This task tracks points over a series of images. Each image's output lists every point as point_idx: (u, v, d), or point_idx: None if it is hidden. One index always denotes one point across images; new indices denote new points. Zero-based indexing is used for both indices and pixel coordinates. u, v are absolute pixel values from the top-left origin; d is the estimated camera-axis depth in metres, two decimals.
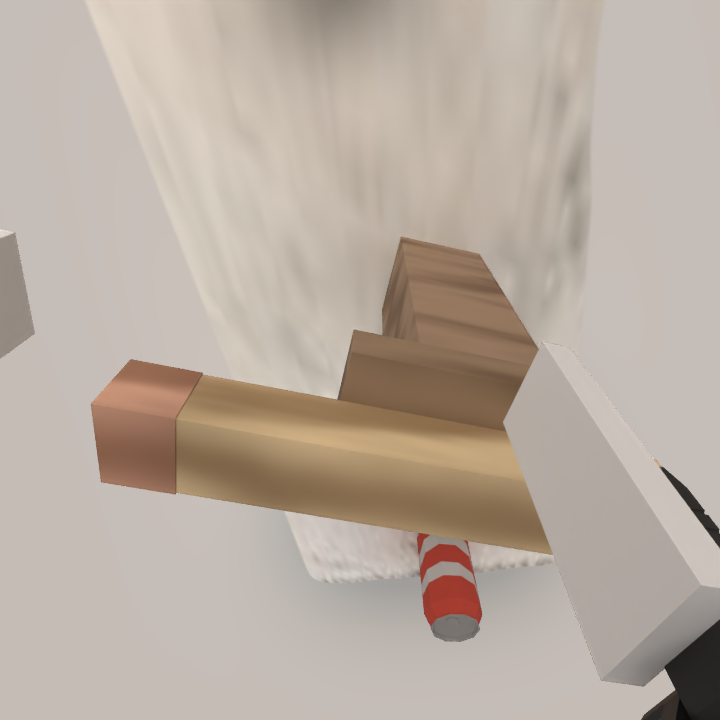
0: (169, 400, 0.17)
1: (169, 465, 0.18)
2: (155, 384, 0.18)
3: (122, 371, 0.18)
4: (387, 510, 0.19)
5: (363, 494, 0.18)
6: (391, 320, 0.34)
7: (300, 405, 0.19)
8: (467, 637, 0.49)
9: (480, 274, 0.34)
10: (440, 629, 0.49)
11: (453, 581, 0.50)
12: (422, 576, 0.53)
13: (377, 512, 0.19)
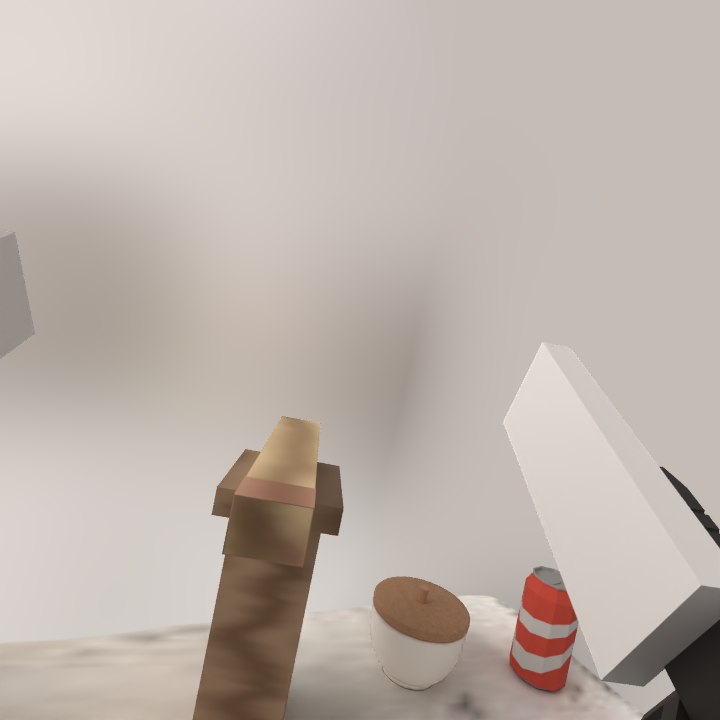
0: None
1: (287, 485, 0.25)
2: None
3: (227, 539, 0.22)
4: (304, 449, 0.34)
5: (293, 451, 0.33)
6: (259, 668, 0.36)
7: None
8: (559, 572, 0.55)
9: None
10: None
11: (528, 606, 0.52)
12: (561, 642, 0.50)
13: (307, 451, 0.34)
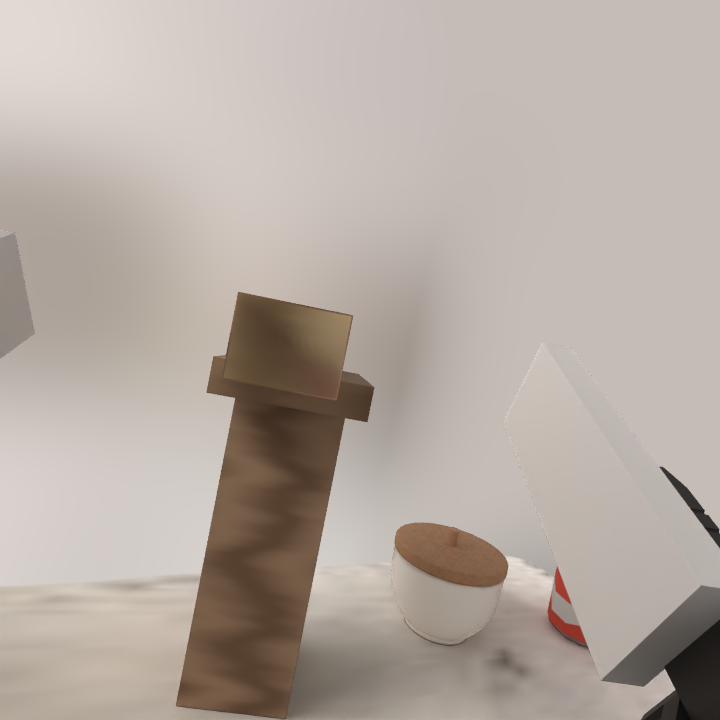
0: None
1: None
2: None
3: (228, 357, 0.16)
4: None
5: None
6: (266, 601, 0.29)
7: None
8: None
9: None
10: None
11: None
12: None
13: None
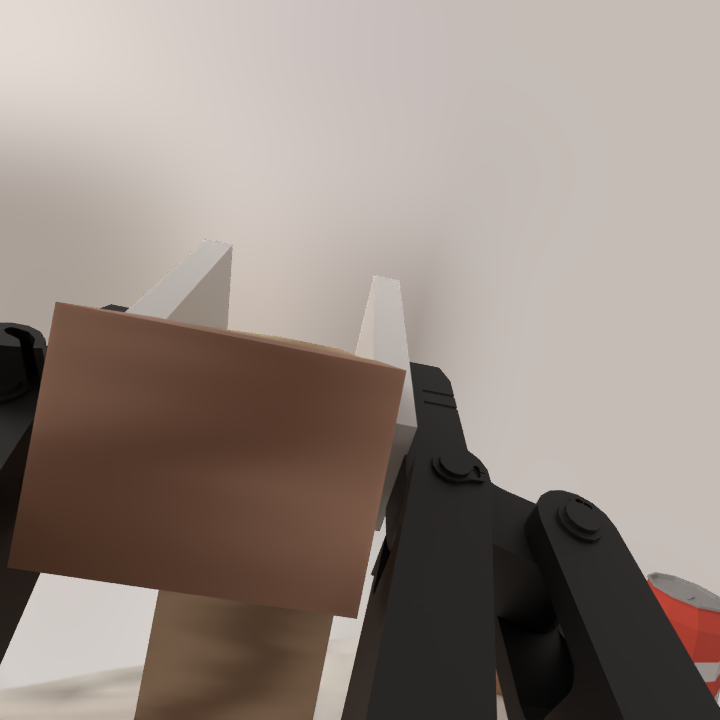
0: None
1: None
2: None
3: (28, 504, 0.05)
4: (321, 347, 0.17)
5: (301, 343, 0.16)
6: None
7: None
8: (683, 581, 0.38)
9: None
10: (711, 605, 0.35)
11: None
12: None
13: (327, 348, 0.17)
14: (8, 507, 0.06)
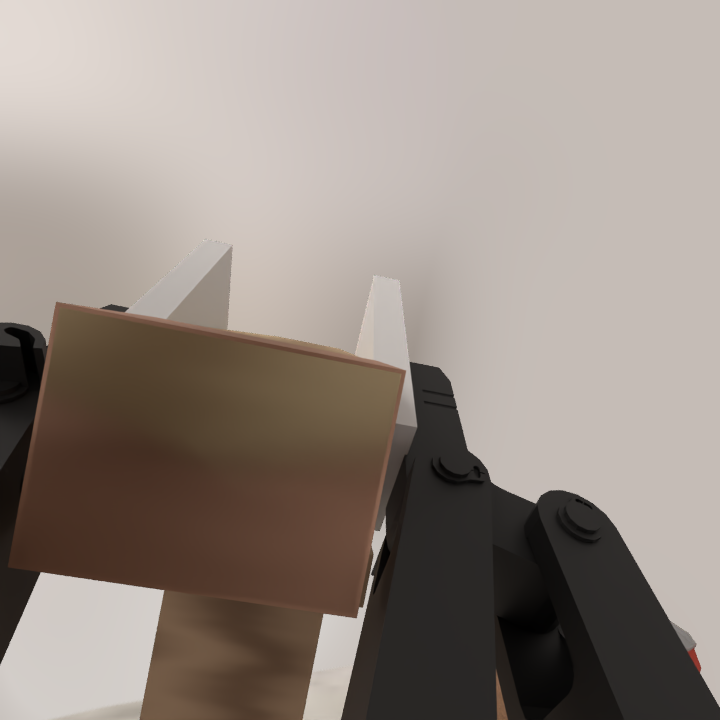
0: None
1: None
2: None
3: (29, 503, 0.05)
4: (321, 347, 0.17)
5: (301, 343, 0.16)
6: None
7: None
8: None
9: None
10: None
11: None
12: None
13: (327, 348, 0.17)
14: (8, 507, 0.06)
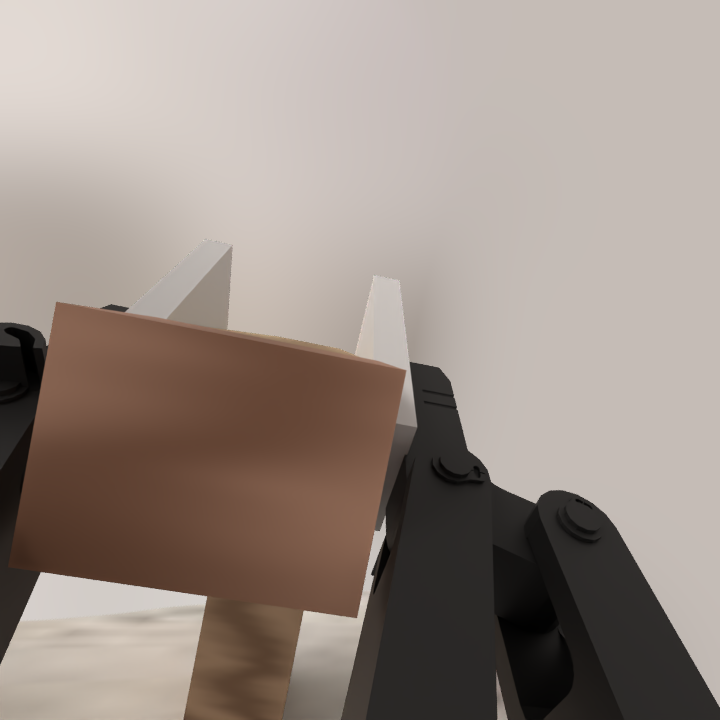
0: None
1: (290, 344, 0.08)
2: None
3: (29, 502, 0.05)
4: (321, 347, 0.17)
5: (301, 343, 0.16)
6: (260, 644, 0.33)
7: None
8: None
9: None
10: None
11: None
12: None
13: (327, 348, 0.17)
14: (8, 507, 0.06)
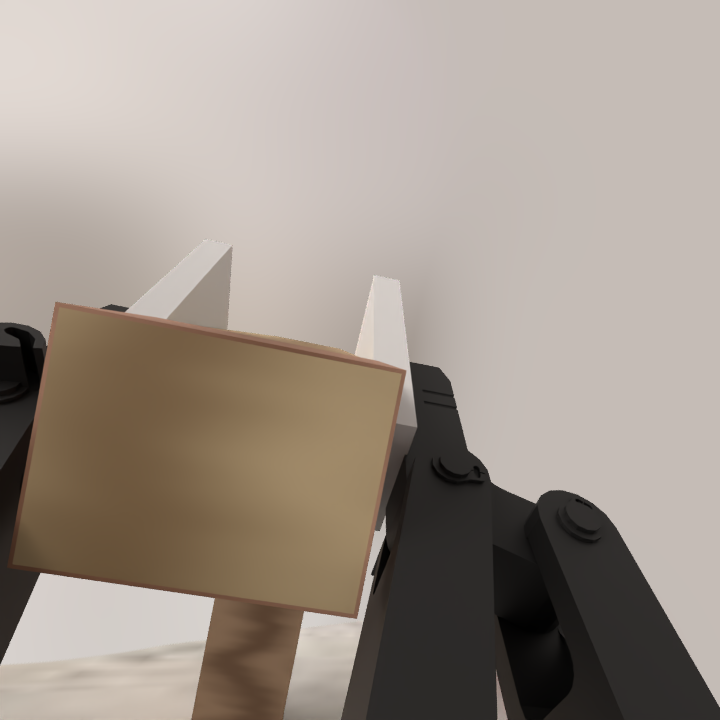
0: None
1: (290, 344, 0.08)
2: None
3: (28, 504, 0.05)
4: (321, 347, 0.17)
5: (301, 343, 0.16)
6: (253, 693, 0.35)
7: None
8: None
9: None
10: None
11: None
12: None
13: (327, 348, 0.17)
14: (8, 507, 0.06)
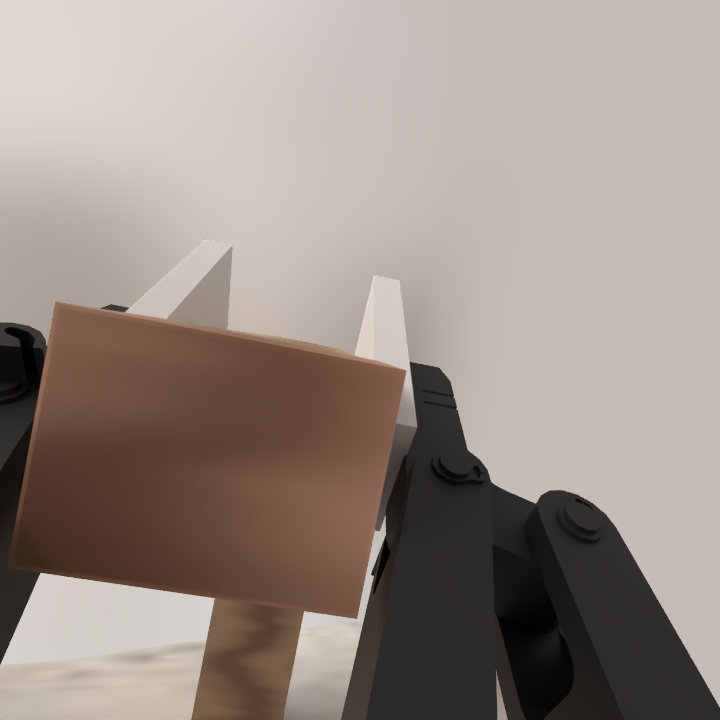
0: None
1: (290, 344, 0.08)
2: None
3: (28, 504, 0.05)
4: (321, 347, 0.17)
5: (301, 343, 0.16)
6: (253, 693, 0.35)
7: None
8: None
9: None
10: None
11: None
12: None
13: (327, 348, 0.17)
14: (8, 507, 0.06)
